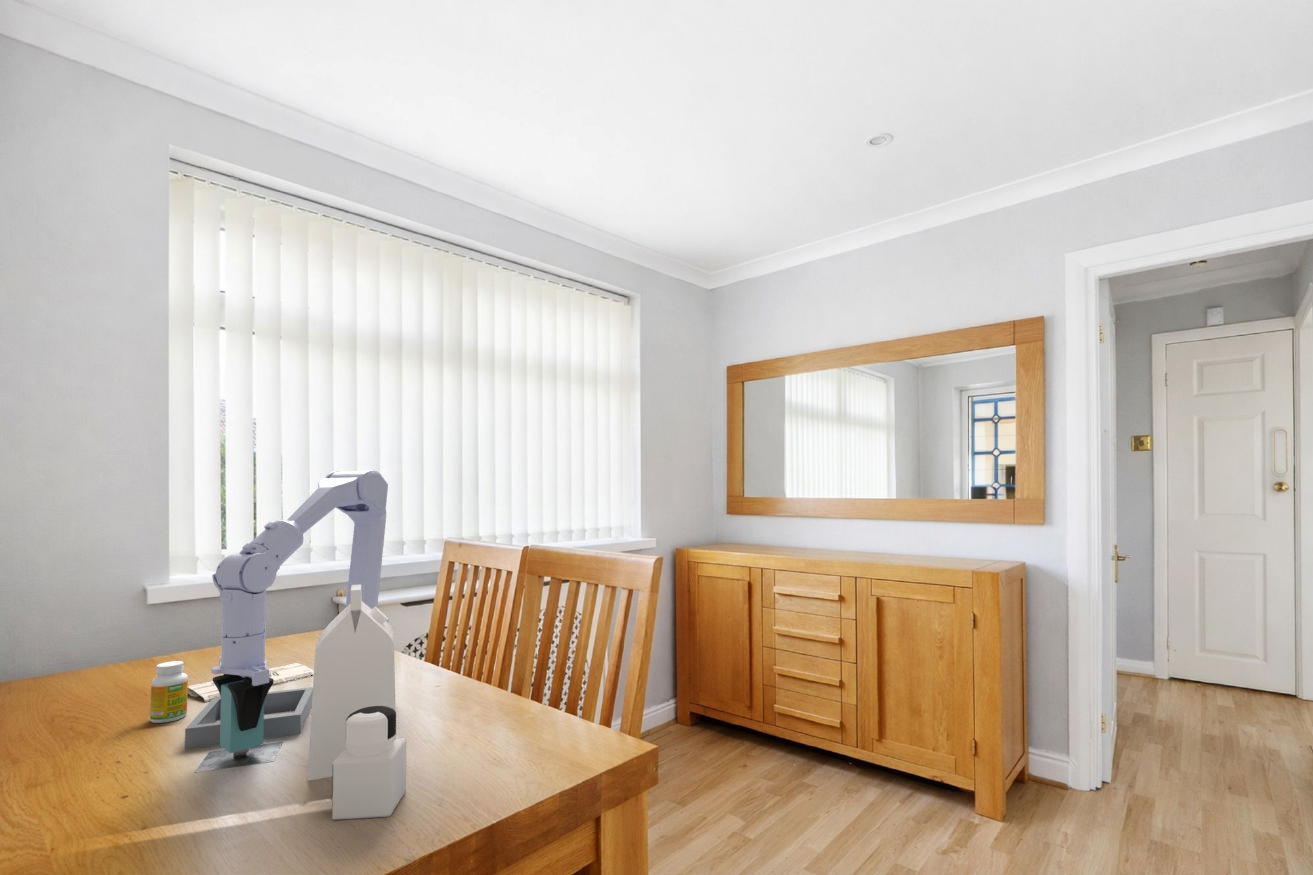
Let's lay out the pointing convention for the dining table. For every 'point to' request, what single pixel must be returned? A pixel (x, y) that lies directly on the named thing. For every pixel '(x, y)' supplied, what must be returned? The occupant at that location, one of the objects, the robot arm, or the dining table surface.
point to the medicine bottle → (369, 766)
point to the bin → (297, 700)
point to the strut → (229, 726)
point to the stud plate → (239, 757)
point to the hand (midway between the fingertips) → (242, 725)
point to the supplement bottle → (169, 693)
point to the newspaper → (277, 673)
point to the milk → (348, 678)
